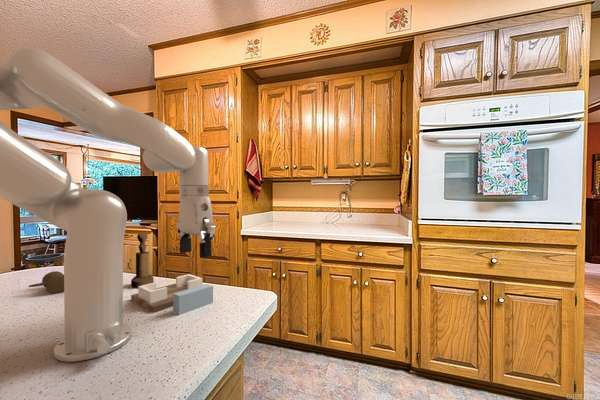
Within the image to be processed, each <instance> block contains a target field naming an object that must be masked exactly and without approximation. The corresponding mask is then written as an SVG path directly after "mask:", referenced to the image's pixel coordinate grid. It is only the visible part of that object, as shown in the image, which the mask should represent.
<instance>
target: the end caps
mask: <svg viewBox="0 0 600 400" xmlns="http://www.w3.org/2000/svg"><path fill="white" fill-rule="evenodd" d="M175 283H176V287H181V286H184V285H187V289H191V288H194V287H198V286H201V285H203V278H202V277H200V276H197V275H193V274H190V273H187V274H185V275H180V276H177V277H175ZM163 287H164V286H163ZM156 288H157V282H154V283H151V284H146V285H142V286H138V289H137V290H138V297H140V298H141V299H143V300H145V301H147V302H149V303H153V302H157V301H160V300H163V299H167V287H164V288H160V287H159V288H160V289H156Z"/></svg>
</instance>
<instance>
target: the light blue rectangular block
mask: <svg viewBox="0 0 600 400" xmlns="http://www.w3.org/2000/svg"><path fill="white" fill-rule="evenodd" d="M213 303H214V285H211V284H208V283H205V284H202V285H201V286H198V287H194V288H191V289H187V290H184V291H181V292H177V293H174V294H173V308H172V309H173V310H172V312H173V313H174V314H176V315H178V316H181V315H183V314H186V313H190V312H191V311H195V310H197V309H200V308H203V307H206V306H207V305H208V304H209V305H211V304H213ZM209 305H208V306H209Z"/></svg>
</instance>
